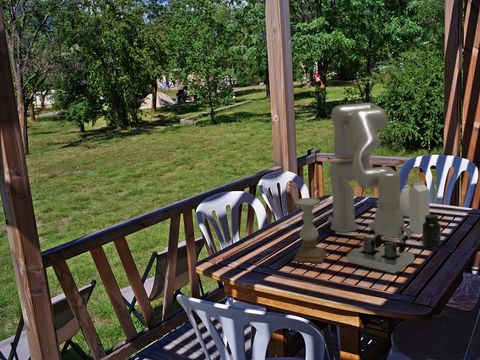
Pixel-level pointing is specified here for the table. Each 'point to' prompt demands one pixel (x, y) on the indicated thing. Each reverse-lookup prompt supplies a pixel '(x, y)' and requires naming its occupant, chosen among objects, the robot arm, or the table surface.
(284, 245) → the table surface
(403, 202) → the sauce bottle
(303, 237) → the candle holder
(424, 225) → the supplement bottle
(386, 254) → the dark grey cylinder
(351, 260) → the jig
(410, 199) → the milk
